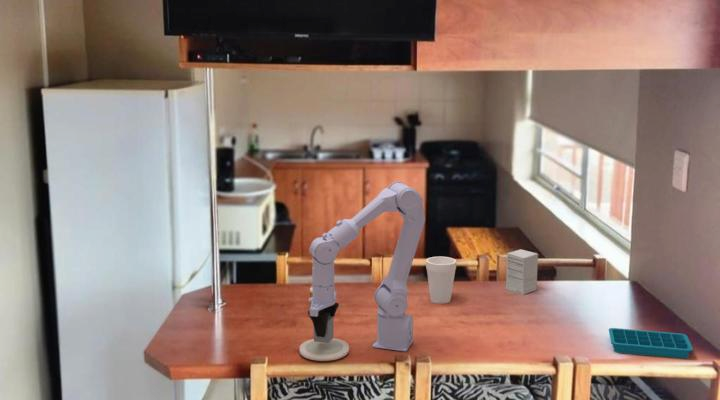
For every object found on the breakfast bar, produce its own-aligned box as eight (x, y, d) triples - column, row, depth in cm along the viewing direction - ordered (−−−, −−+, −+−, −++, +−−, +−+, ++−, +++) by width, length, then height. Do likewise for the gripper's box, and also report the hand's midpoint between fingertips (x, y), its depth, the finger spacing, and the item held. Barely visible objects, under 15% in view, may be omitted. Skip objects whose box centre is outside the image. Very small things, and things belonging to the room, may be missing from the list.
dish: (355, 346, 208) (355, 340, 207) (338, 365, 196) (338, 359, 195) (310, 340, 212) (310, 334, 211) (291, 359, 200) (291, 353, 199)
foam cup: (425, 295, 249) (425, 256, 246) (453, 295, 248) (454, 256, 245) (426, 305, 239) (427, 265, 237) (456, 305, 239) (457, 265, 236)
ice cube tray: (607, 337, 214) (608, 327, 214) (685, 344, 210) (686, 333, 209) (610, 354, 203) (611, 343, 203) (692, 361, 199) (693, 350, 198)
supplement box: (519, 285, 258) (520, 248, 256) (537, 290, 253) (539, 253, 250) (504, 289, 254) (506, 252, 251) (522, 295, 248) (524, 257, 246)
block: (333, 337, 204) (333, 316, 203) (328, 343, 200) (327, 321, 199) (319, 335, 205) (319, 314, 204) (313, 341, 202) (313, 319, 200)
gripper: (319, 274, 208) (319, 321, 210) (298, 290, 194) (299, 341, 197) (343, 276, 205) (344, 324, 208) (324, 293, 192) (324, 344, 195)
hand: (323, 333), depth 202 cm, fingers closed on block, 4 cm apart
